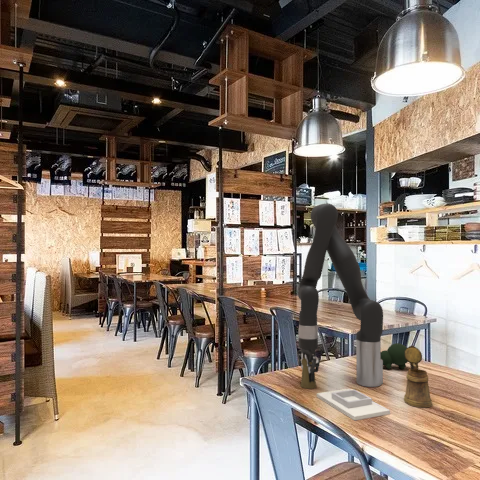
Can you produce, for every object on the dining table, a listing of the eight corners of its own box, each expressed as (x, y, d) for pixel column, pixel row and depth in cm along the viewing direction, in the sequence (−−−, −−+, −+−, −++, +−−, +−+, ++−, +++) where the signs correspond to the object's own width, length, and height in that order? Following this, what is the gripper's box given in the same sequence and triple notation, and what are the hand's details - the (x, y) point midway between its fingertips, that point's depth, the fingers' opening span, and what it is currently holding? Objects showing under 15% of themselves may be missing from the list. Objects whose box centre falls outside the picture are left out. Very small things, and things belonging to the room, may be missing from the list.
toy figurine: (361, 373, 184) (421, 371, 180) (357, 330, 184) (416, 327, 180) (358, 367, 193) (415, 365, 189) (354, 326, 193) (411, 323, 189)
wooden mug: (424, 394, 154) (424, 345, 154) (435, 408, 140) (435, 355, 140) (399, 393, 155) (399, 344, 155) (407, 406, 142) (407, 353, 142)
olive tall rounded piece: (316, 389, 159) (315, 360, 159) (300, 388, 160) (300, 359, 160) (316, 383, 165) (316, 356, 165) (301, 382, 166) (300, 355, 166)
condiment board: (348, 391, 156) (348, 383, 156) (390, 413, 136) (390, 404, 136) (316, 396, 151) (316, 387, 151) (354, 420, 131) (354, 410, 131)
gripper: (326, 339, 157) (326, 384, 157) (307, 331, 171) (307, 373, 171) (309, 340, 155) (309, 387, 155) (290, 333, 168) (291, 376, 168)
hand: (308, 380), depth 163 cm, fingers closed on olive tall rounded piece, 4 cm apart
